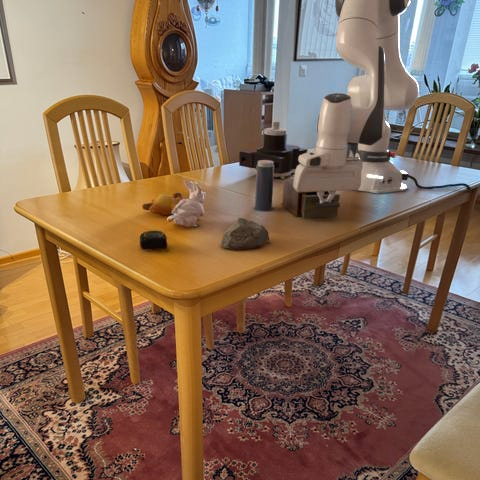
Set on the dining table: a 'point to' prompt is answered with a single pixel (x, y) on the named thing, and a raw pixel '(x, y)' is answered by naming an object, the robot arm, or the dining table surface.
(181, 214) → the figurine
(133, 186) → the dining table surface
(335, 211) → the drawer
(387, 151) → the robot arm
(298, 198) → the cabinet
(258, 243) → the rock
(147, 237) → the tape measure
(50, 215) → the dining table surface
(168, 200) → the toy
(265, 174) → the salt shaker
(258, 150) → the mechanical component
